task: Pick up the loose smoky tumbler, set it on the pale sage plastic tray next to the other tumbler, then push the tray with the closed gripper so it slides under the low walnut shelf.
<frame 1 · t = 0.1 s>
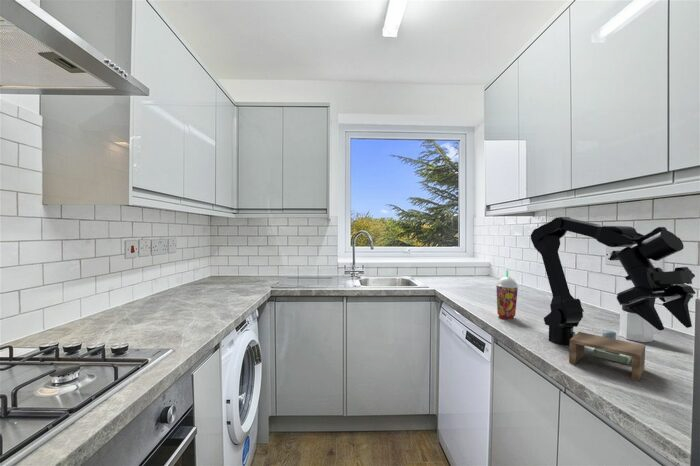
hand: (675, 328, 80), 15 cm above the worktop, tool tilted 35°, fingers open, 9 cm apart
tray: (614, 357, 100), on the worktop, touching tumbler a
tumbler a: (612, 357, 98), point 1 cm above the worktop, touching tray
shelf: (605, 368, 92), on the worktop
jar: (635, 338, 118), on the worktop
smoothie: (506, 318, 142), on the worktop
tumbler b: (608, 345, 110), on the worktop
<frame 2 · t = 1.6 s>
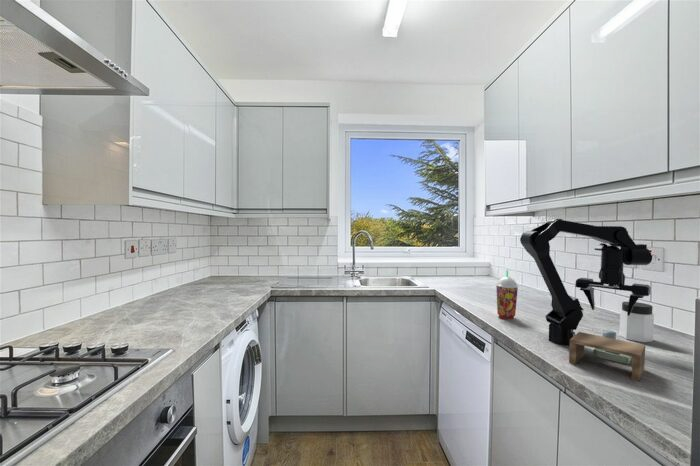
hand: (610, 312, 110), 11 cm above the worktop, tool pointing down, fingers open, 9 cm apart
nothing on the worktop moved.
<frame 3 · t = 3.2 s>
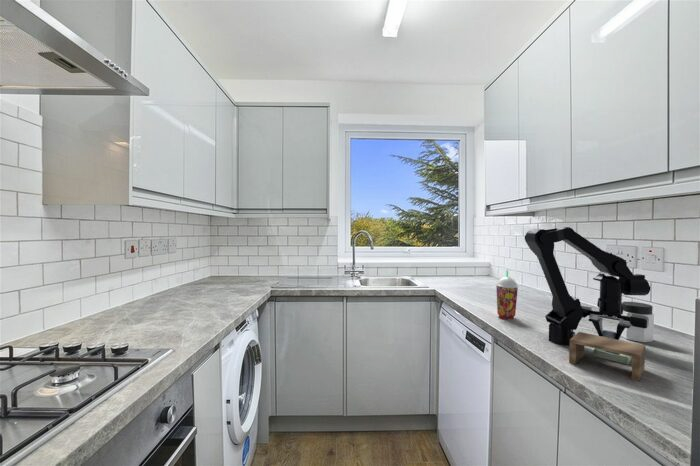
hand: (608, 342, 110), 1 cm above the worktop, tool pointing down, fingers closed on tumbler b, 3 cm apart
tumbler b: (608, 345, 110), on the worktop, touching gripper
everything else where it was.
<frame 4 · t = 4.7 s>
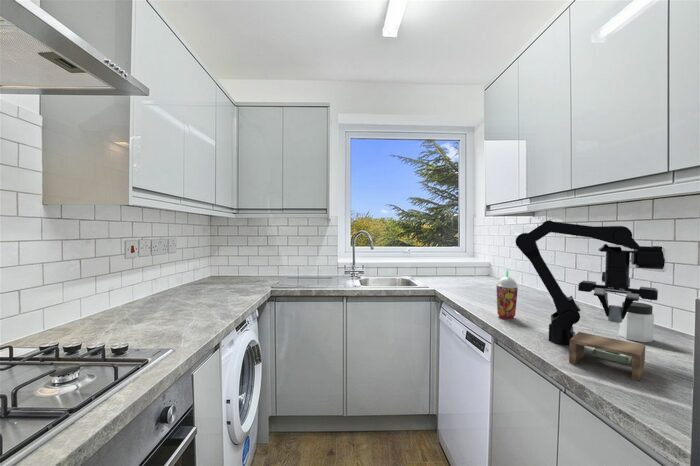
hand: (615, 317, 103), 11 cm above the worktop, tool pointing down, fingers closed on tumbler b, 3 cm apart
tumbler b: (615, 321, 103), point 10 cm above the worktop, touching gripper
everything else where it was.
when the fingers open (3 cm above the worktop, at t = 6.0 s): tumbler b drops 2 cm, resting on tray.
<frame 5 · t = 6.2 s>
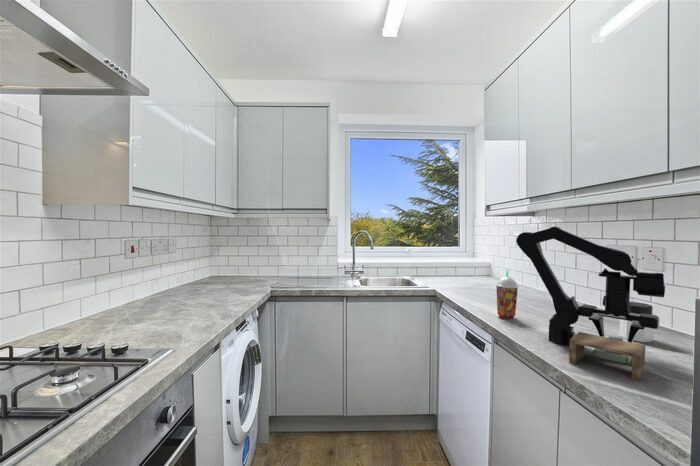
hand: (615, 343, 102), 3 cm above the worktop, tool pointing down, fingers open, 6 cm apart
tray: (614, 357, 100), on the worktop, touching tumbler a, tumbler b
tumbler b: (615, 352, 102), point 1 cm above the worktop, touching tray
everything else where it was.
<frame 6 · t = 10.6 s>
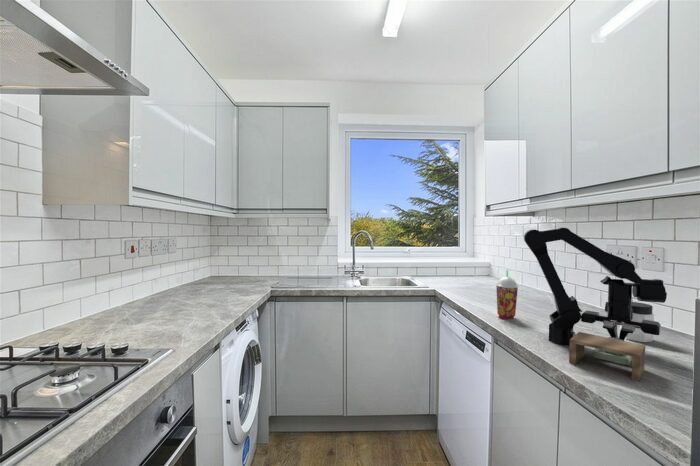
hand: (618, 349, 104), 1 cm above the worktop, tool pointing down, fingers closed, pressing on tray
tray: (613, 358, 100), on the worktop, touching gripper, tumbler a, tumbler b
tumbler a: (611, 358, 97), point 1 cm above the worktop, touching tray
tumbler b: (615, 353, 101), point 1 cm above the worktop, touching tray
everything else where it was.
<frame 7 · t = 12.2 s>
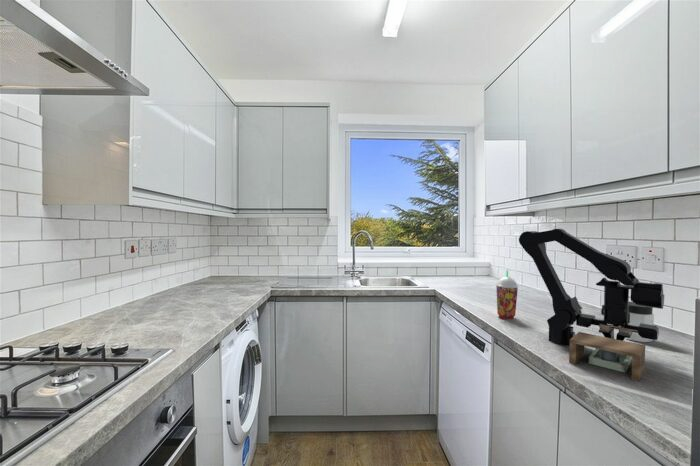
hand: (614, 354, 100), 1 cm above the worktop, tool pointing down, fingers closed, pressing on tray
tray: (610, 364, 95), on the worktop, touching gripper, tumbler a, tumbler b
tumbler a: (608, 364, 93), point 1 cm above the worktop, touching tray
tumbler b: (611, 359, 97), point 1 cm above the worktop, touching tray
everything else where it was.
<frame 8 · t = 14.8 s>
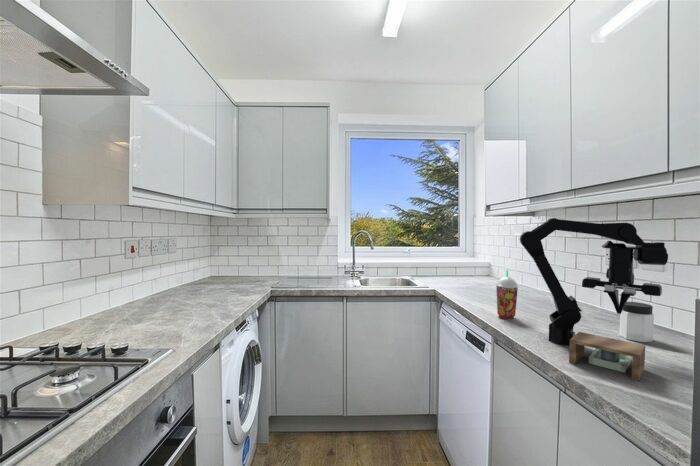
hand: (619, 313, 104), 12 cm above the worktop, tool pointing down, fingers closed
tray: (610, 364, 95), on the worktop, touching tumbler a, tumbler b
everything else where it was.
at the end: tray inside the target area on the shelf (5.5 cm from its centre), point 0.0 cm above the shelf's base; tumbler b inside the target area on the tray (0.0 cm from its centre), point 0.8 cm above the tray's base; tumbler b tilted 0° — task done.
